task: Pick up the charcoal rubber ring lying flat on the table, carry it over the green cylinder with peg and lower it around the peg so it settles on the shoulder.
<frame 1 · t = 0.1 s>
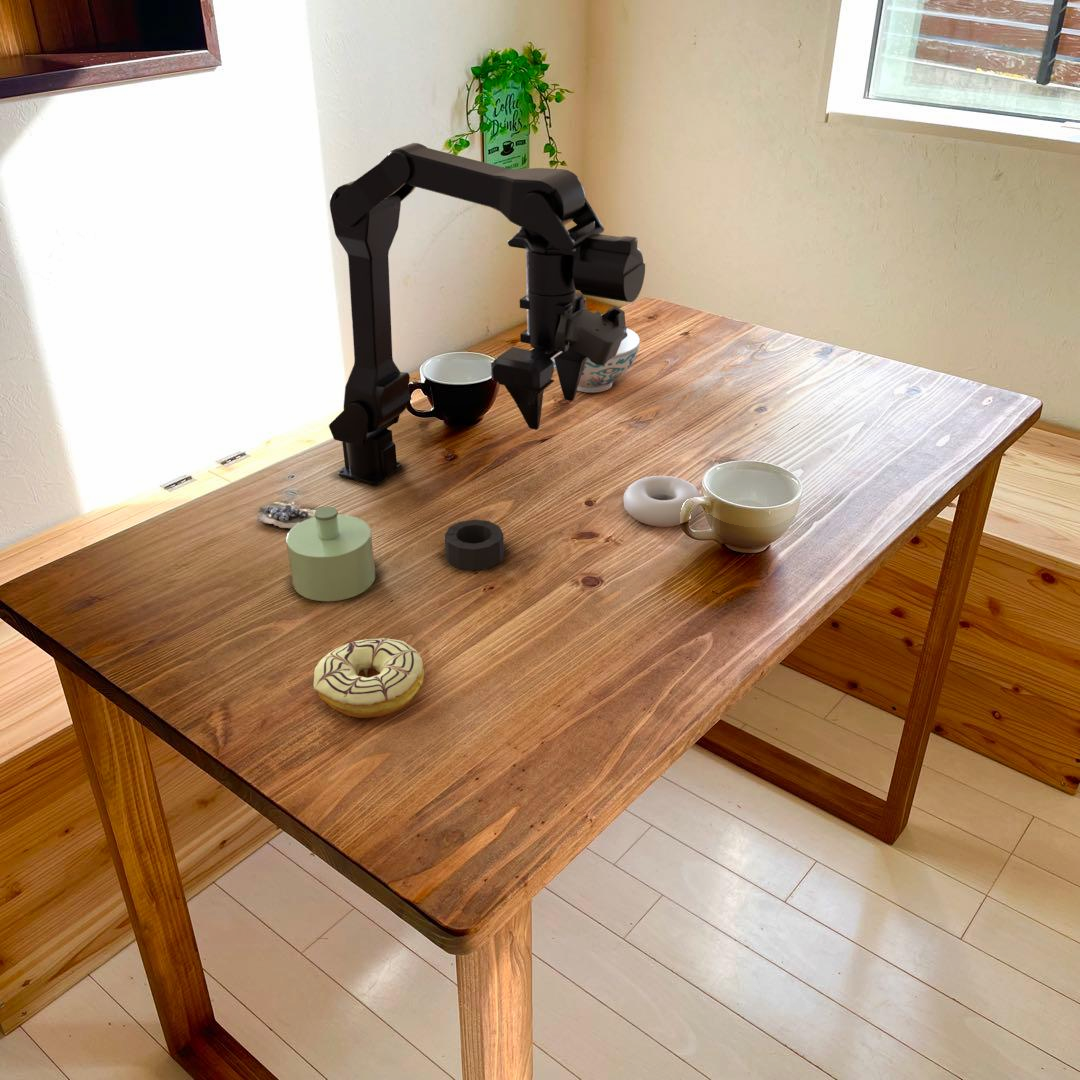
hand: (552, 414, 133), 15 cm above the table, tool pointing down, fingers open, 9 cm apart
rubber ring: (474, 555, 133), on the table
blueberry tart: (289, 518, 142), on the table
chinaware: (591, 385, 177), on the table
green cylinder with peg: (334, 578, 129), on the table
decorated donut: (371, 692, 112), on the table
donut: (661, 513, 142), on the table
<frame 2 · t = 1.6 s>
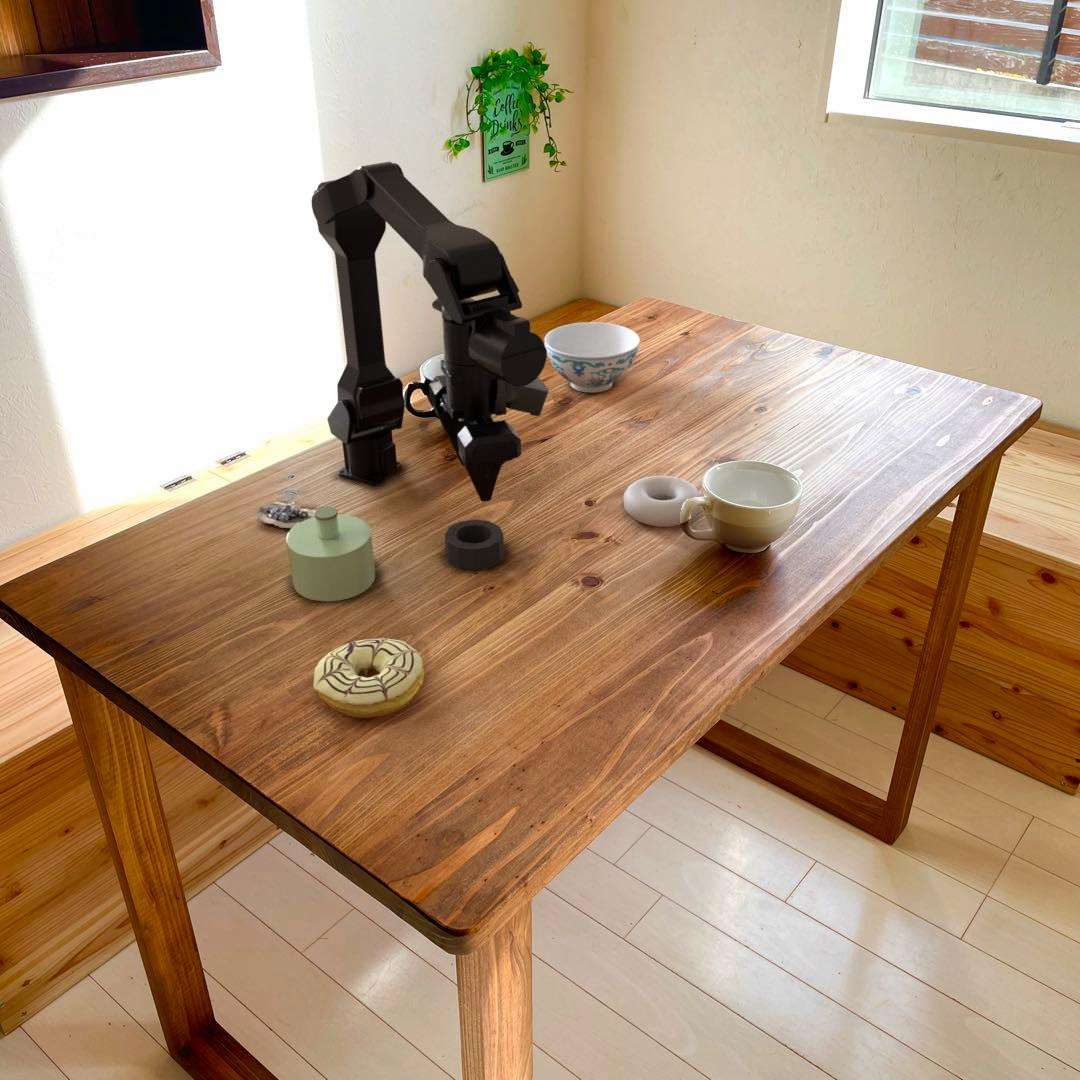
hand: (475, 482, 129), 10 cm above the table, tool pointing down, fingers open, 9 cm apart
nothing on the table moved.
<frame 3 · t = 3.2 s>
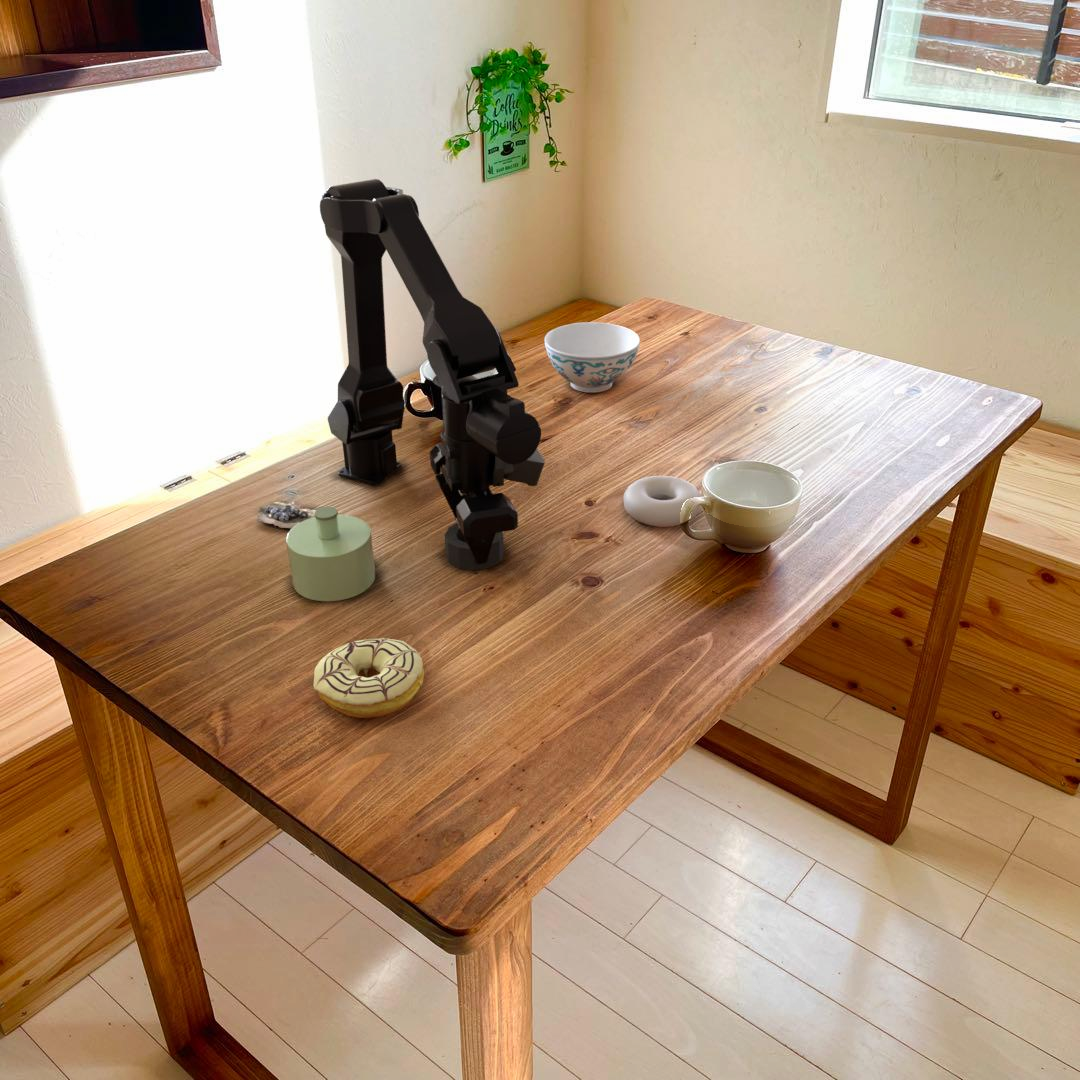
hand: (474, 547, 133), 1 cm above the table, tool pointing down, fingers closed on rubber ring, 7 cm apart
rubber ring: (474, 555, 133), on the table, touching gripper
everything else where it was.
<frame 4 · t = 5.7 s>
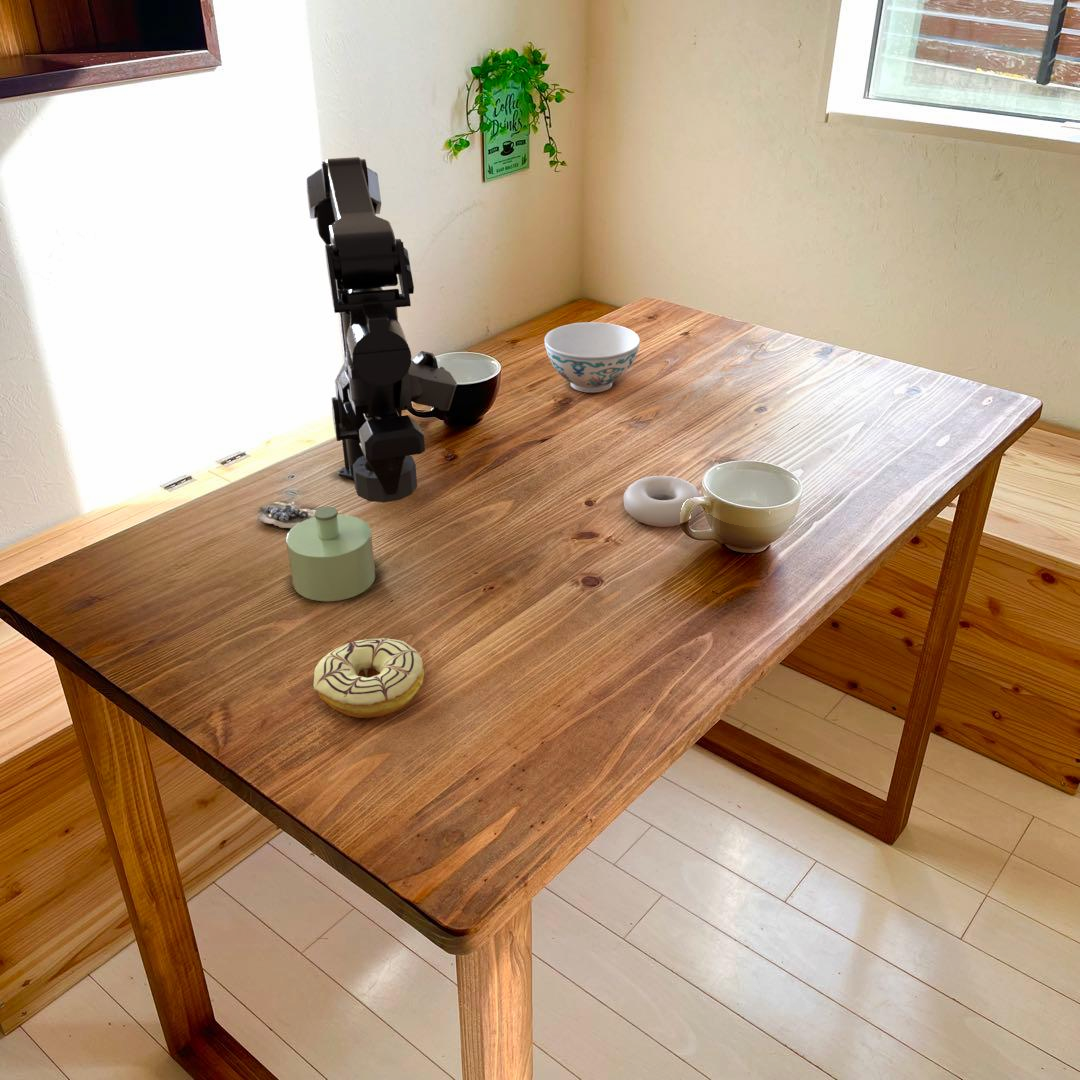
hand: (385, 479, 125), 12 cm above the table, tool pointing down, fingers closed on rubber ring, 7 cm apart
rubber ring: (386, 487, 125), point 11 cm above the table, touching gripper
everything else where it was.
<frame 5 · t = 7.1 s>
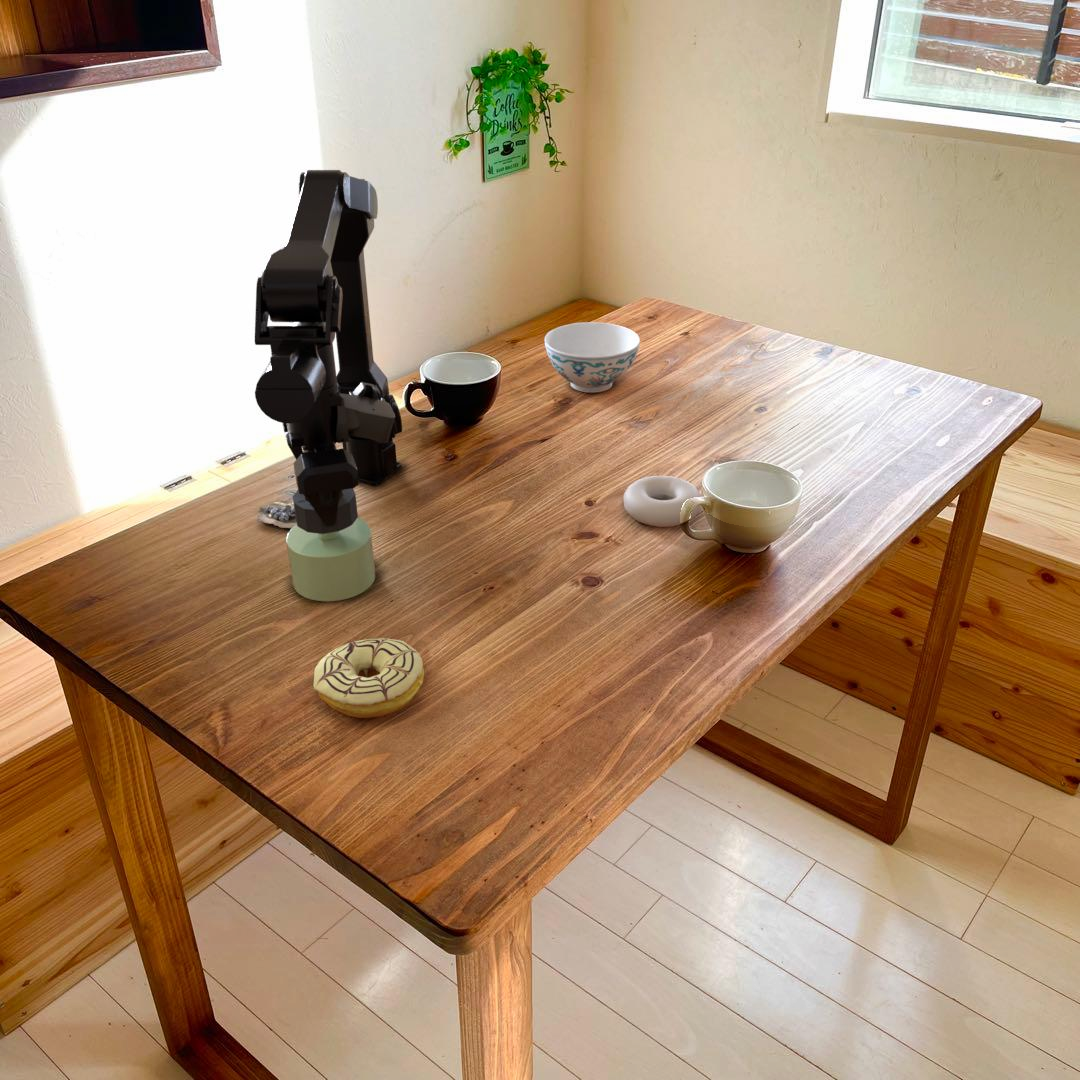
hand: (325, 510, 125), 9 cm above the table, tool pointing down, fingers closed on rubber ring, 7 cm apart
rubber ring: (326, 518, 125), point 8 cm above the table, touching gripper
everything else where it was.
when the fingers open (7 cm above the table, at t = 8.3 s): rubber ring stays where it is, resting on green cylinder with peg.
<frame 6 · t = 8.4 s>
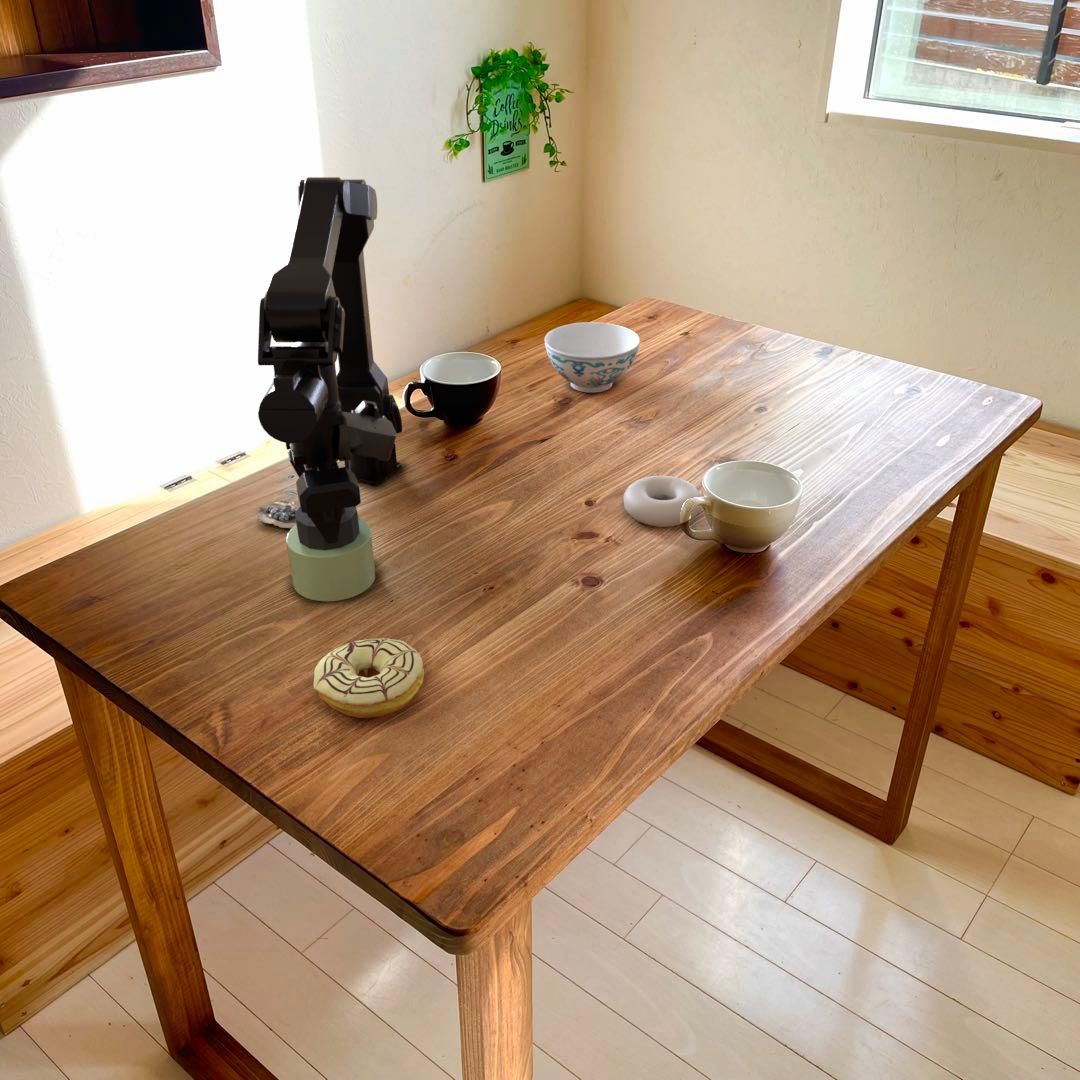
hand: (327, 527, 126), 7 cm above the table, tool pointing down, fingers open, 7 cm apart
rubber ring: (328, 534, 126), point 6 cm above the table, touching green cylinder with peg
everything else where it was.
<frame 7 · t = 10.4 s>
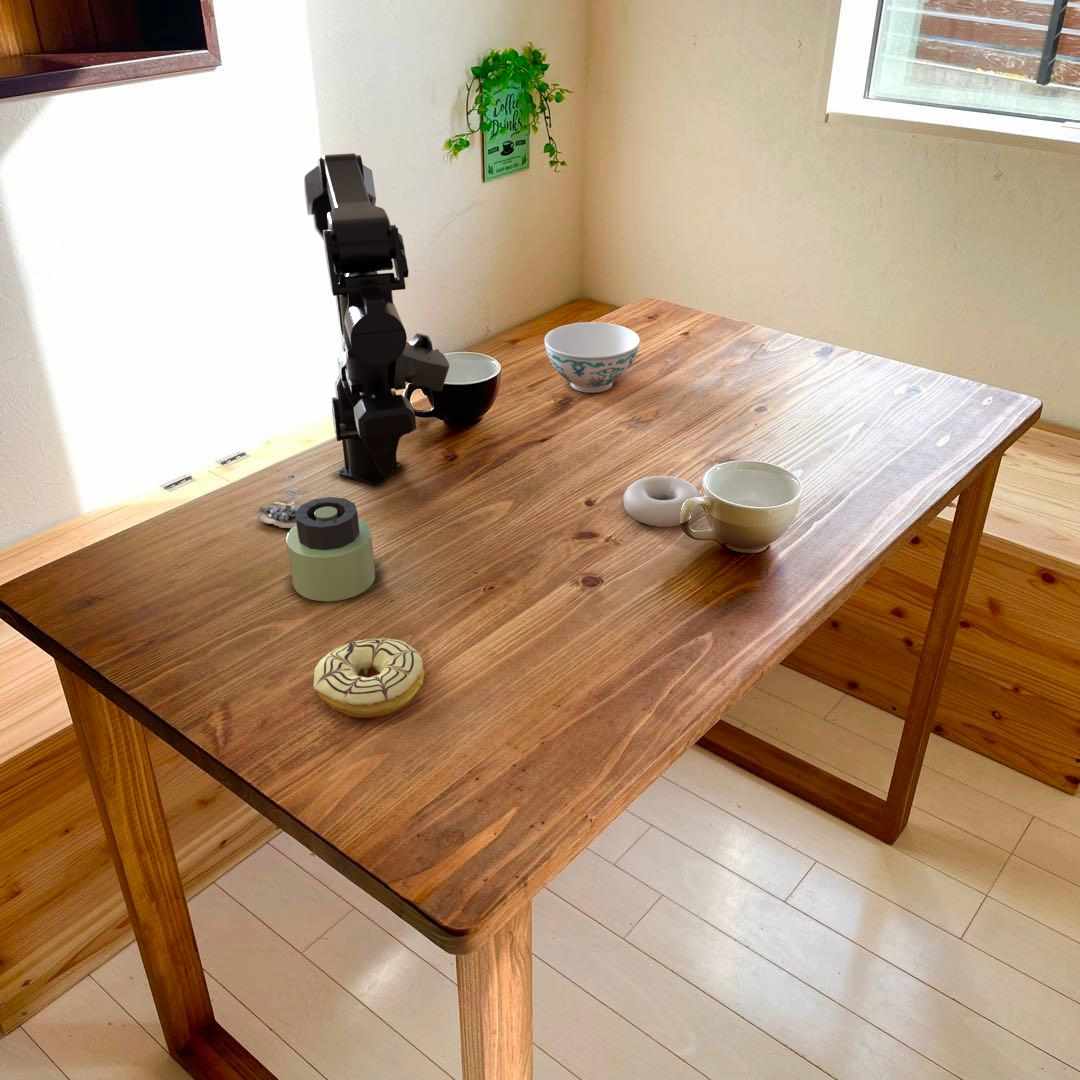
hand: (380, 456, 130), 12 cm above the table, tool pointing down, fingers open, 9 cm apart
nothing on the table moved.
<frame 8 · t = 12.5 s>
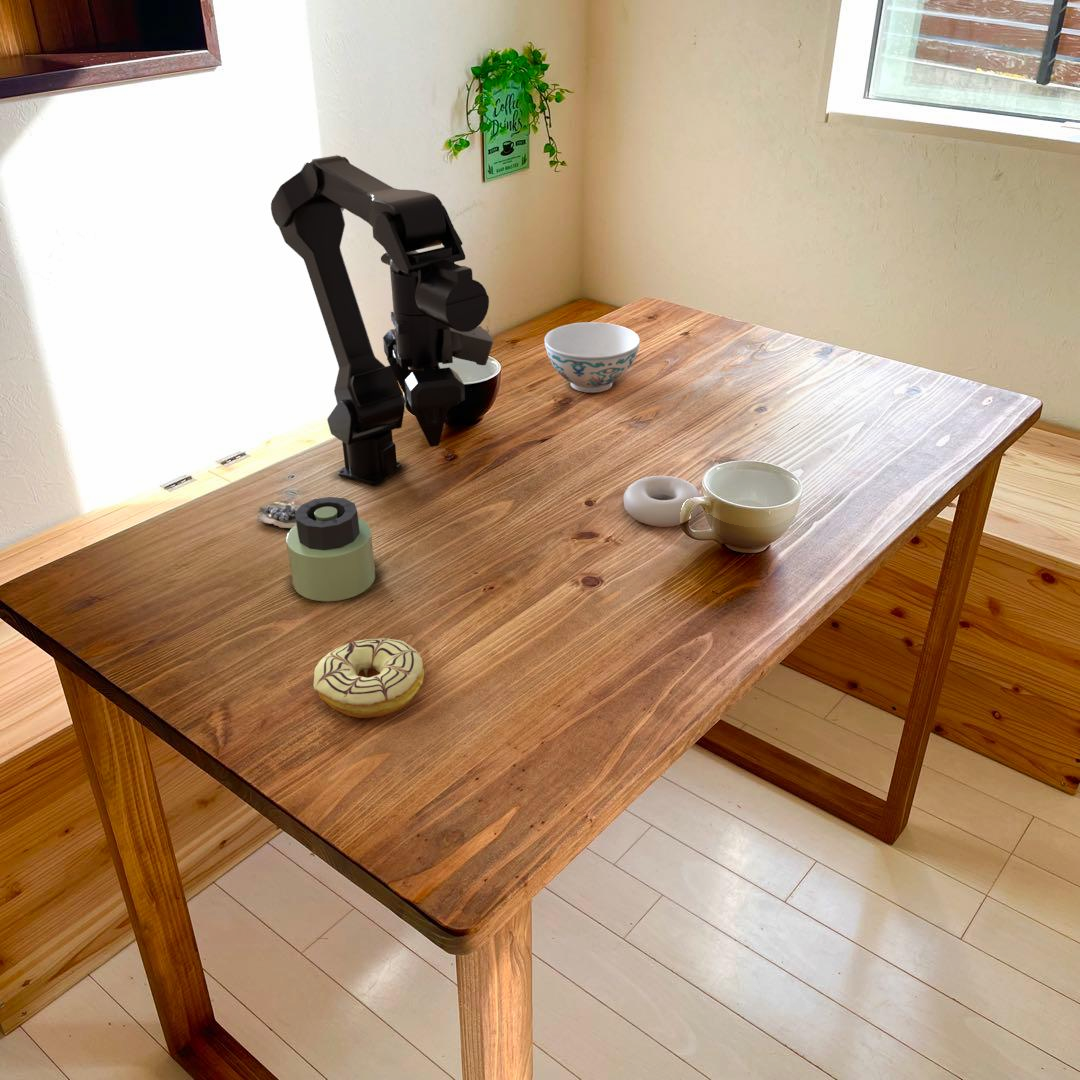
hand: (426, 429, 136), 12 cm above the table, tool pointing down, fingers open, 9 cm apart
nothing on the table moved.
at the end: rubber ring 0.1 cm off-centre on the green cylinder with peg, point 6.0 cm above the green cylinder with peg's base; rubber ring tilted 0°; the gripper is holding nothing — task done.
